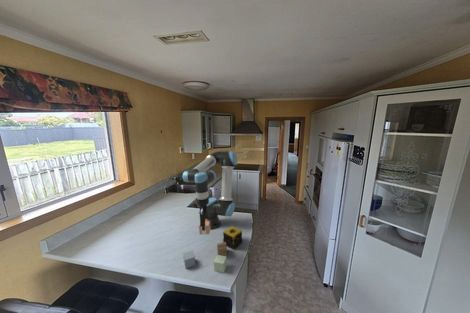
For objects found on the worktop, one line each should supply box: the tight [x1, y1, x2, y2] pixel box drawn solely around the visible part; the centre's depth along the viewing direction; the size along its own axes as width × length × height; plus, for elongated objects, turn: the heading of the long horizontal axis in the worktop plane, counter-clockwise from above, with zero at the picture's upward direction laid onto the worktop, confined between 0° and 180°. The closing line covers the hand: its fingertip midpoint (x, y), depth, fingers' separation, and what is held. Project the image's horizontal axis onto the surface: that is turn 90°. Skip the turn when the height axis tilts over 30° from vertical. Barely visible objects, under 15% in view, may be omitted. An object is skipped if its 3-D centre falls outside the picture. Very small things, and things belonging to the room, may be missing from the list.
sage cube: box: [213, 254, 228, 273], centre depth 107 cm, size 6×6×6 cm
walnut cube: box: [216, 242, 228, 257], centre depth 119 cm, size 6×6×6 cm
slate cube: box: [182, 250, 196, 270], centre depth 112 cm, size 6×6×6 cm
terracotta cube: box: [198, 221, 211, 236], centre depth 114 cm, size 6×6×6 cm
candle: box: [222, 225, 243, 250], centre depth 129 cm, size 10×10×10 cm
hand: (205, 231), depth 115 cm, fingers closed on terracotta cube, 6 cm apart
